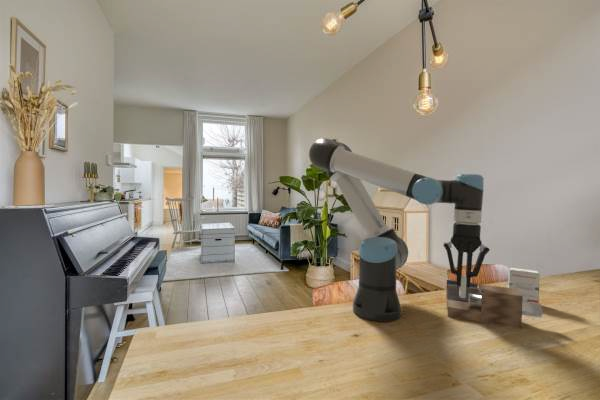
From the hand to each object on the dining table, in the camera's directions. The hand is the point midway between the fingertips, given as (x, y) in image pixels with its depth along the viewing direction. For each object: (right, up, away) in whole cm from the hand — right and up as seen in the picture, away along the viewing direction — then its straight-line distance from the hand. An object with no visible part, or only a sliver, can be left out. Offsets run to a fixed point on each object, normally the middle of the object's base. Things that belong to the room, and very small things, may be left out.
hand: (462, 296), depth 94 cm
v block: (+7, -6, +12) cm, 15 cm away
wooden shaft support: (+5, -6, -2) cm, 8 cm away
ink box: (+27, -6, +11) cm, 30 cm away
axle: (+10, -3, -4) cm, 11 cm away
